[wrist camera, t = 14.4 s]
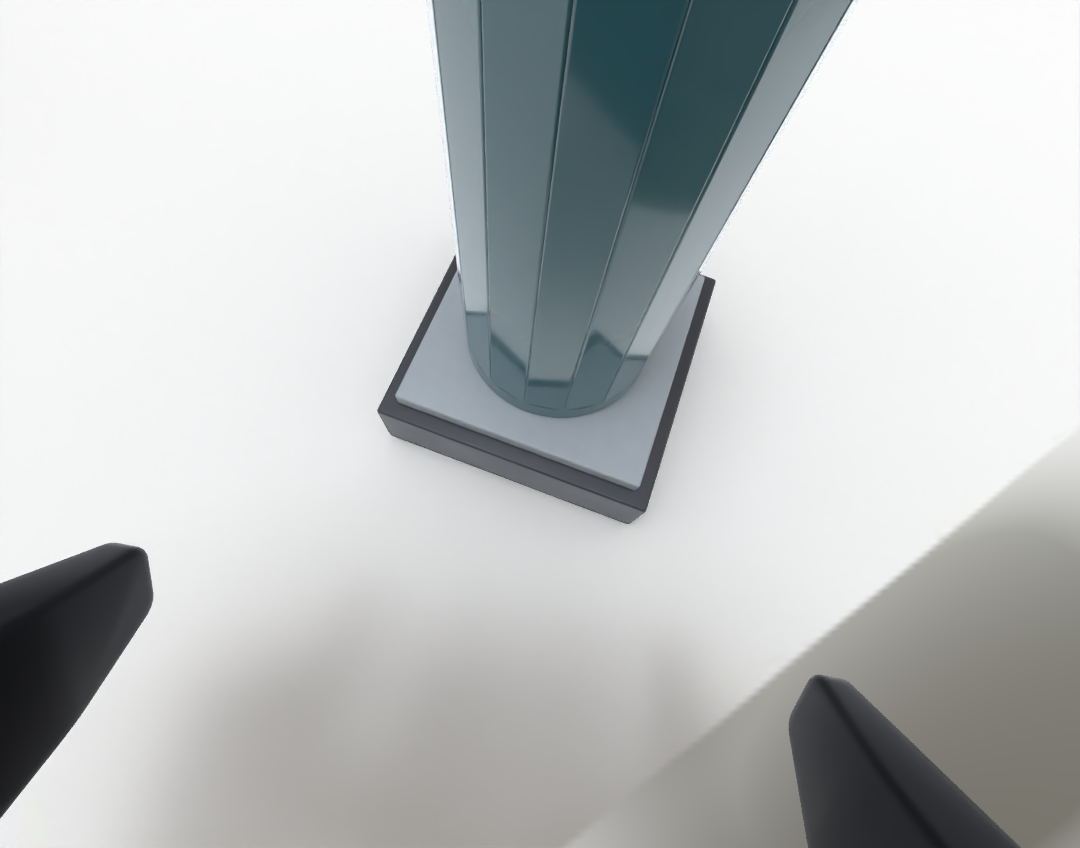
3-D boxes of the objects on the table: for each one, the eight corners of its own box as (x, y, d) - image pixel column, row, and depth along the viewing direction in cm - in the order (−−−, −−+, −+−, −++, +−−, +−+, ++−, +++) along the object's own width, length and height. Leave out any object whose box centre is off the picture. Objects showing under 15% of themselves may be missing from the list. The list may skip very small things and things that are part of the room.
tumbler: (588, 454, 17) (804, 58, 5) (428, 352, 18) (283, -209, 6) (680, 312, 19) (1001, -228, 7) (532, 225, 20) (586, -403, 8)
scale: (629, 524, 20) (650, 508, 17) (389, 434, 20) (371, 404, 17) (695, 313, 23) (723, 269, 20) (484, 238, 23) (483, 185, 20)
